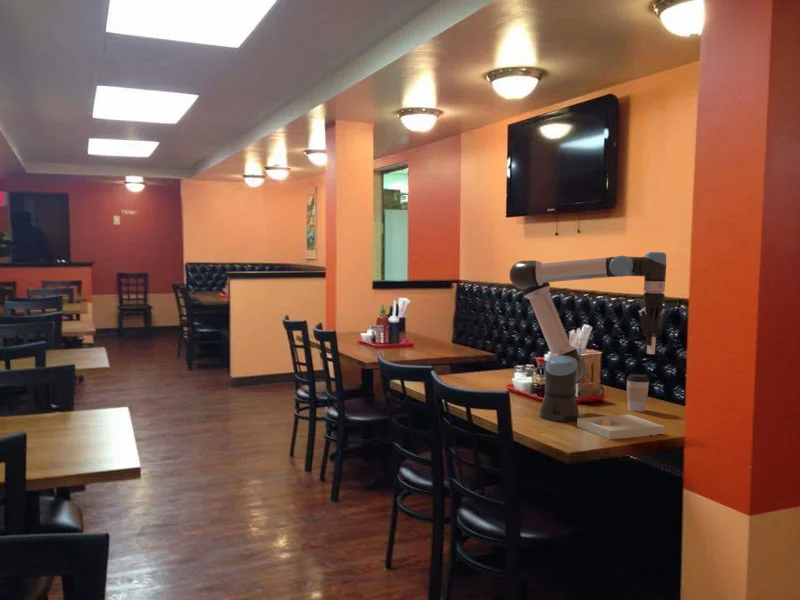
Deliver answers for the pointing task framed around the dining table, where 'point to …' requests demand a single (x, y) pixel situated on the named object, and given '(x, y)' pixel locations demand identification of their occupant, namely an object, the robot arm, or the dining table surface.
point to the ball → (606, 422)
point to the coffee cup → (637, 392)
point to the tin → (591, 390)
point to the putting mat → (620, 426)
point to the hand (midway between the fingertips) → (650, 353)
